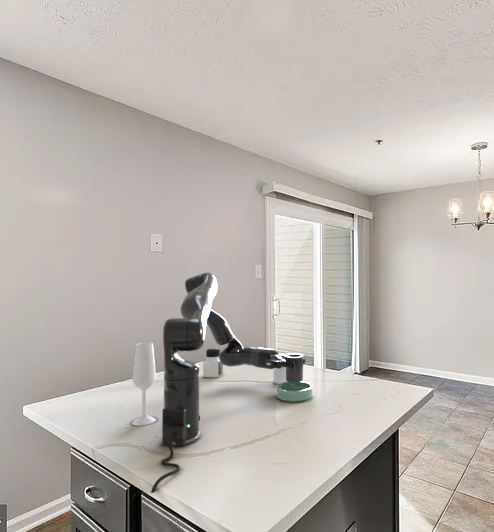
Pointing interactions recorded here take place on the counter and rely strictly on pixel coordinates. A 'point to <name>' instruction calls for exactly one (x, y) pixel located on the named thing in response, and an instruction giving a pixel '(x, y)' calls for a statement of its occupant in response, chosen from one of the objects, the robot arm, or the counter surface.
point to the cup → (296, 372)
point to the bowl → (294, 391)
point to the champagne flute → (144, 376)
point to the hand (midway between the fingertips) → (299, 363)
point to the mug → (279, 375)
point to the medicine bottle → (212, 363)
